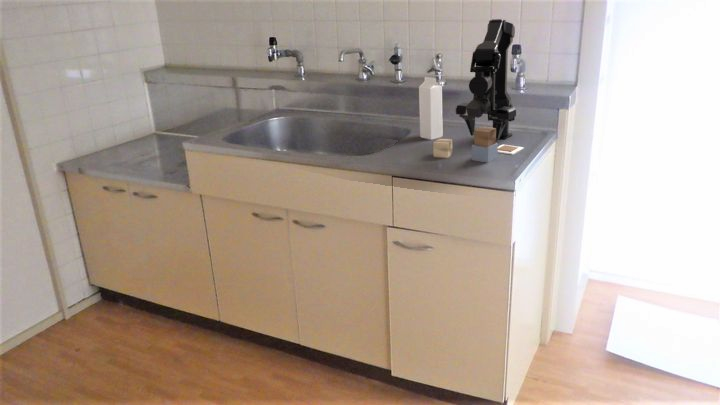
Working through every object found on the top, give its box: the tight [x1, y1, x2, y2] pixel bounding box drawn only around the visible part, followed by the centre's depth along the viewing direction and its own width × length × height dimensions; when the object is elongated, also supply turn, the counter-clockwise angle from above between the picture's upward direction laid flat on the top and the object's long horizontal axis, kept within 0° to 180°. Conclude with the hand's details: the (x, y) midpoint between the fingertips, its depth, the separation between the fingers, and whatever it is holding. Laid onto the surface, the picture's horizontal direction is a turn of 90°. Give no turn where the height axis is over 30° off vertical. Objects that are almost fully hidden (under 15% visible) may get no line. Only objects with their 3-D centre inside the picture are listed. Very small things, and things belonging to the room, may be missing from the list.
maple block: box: [432, 138, 453, 159], centre depth 201 cm, size 5×5×5 cm
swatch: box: [498, 144, 525, 156], centre depth 202 cm, size 8×8×1 cm
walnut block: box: [473, 126, 497, 147], centre depth 192 cm, size 5×5×5 cm
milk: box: [418, 76, 444, 141], centre depth 219 cm, size 6×6×22 cm
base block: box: [471, 142, 499, 163], centre depth 194 cm, size 6×6×5 cm
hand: (484, 137), depth 193 cm, fingers open, 9 cm apart
